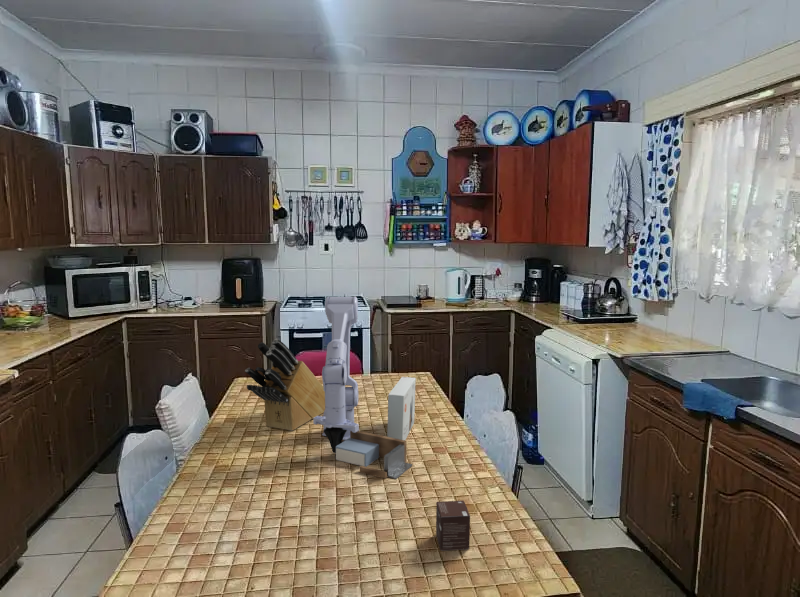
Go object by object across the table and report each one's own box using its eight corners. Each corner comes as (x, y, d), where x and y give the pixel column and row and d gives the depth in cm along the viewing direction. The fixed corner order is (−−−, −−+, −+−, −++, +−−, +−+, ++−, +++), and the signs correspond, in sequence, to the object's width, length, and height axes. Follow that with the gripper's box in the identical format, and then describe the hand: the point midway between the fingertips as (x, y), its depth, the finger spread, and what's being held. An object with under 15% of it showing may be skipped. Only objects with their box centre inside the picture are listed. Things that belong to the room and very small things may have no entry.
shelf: (329, 464, 140) (328, 443, 139) (352, 449, 150) (352, 429, 150) (385, 478, 132) (385, 456, 131) (406, 461, 142) (406, 440, 141)
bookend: (384, 476, 133) (384, 456, 132) (400, 462, 141) (400, 443, 140) (396, 479, 131) (396, 458, 131) (412, 465, 139) (412, 446, 139)
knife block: (244, 437, 160) (240, 340, 156) (309, 404, 192) (307, 323, 188) (273, 443, 155) (269, 343, 152) (335, 408, 187) (333, 325, 183)
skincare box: (404, 447, 152) (403, 395, 150) (386, 445, 153) (386, 394, 151) (416, 422, 172) (416, 376, 171) (400, 421, 173) (400, 375, 172)
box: (435, 534, 107) (435, 501, 106) (463, 532, 107) (464, 499, 106) (440, 551, 101) (440, 516, 100) (470, 550, 101) (470, 515, 100)
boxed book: (335, 460, 143) (334, 446, 142) (349, 450, 149) (349, 437, 149) (365, 467, 138) (365, 453, 138) (379, 457, 145) (378, 444, 144)
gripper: (306, 405, 144) (307, 451, 146) (348, 414, 137) (349, 462, 139) (321, 399, 150) (322, 443, 152) (362, 406, 143) (363, 452, 145)
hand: (336, 451), depth 146 cm, fingers closed
